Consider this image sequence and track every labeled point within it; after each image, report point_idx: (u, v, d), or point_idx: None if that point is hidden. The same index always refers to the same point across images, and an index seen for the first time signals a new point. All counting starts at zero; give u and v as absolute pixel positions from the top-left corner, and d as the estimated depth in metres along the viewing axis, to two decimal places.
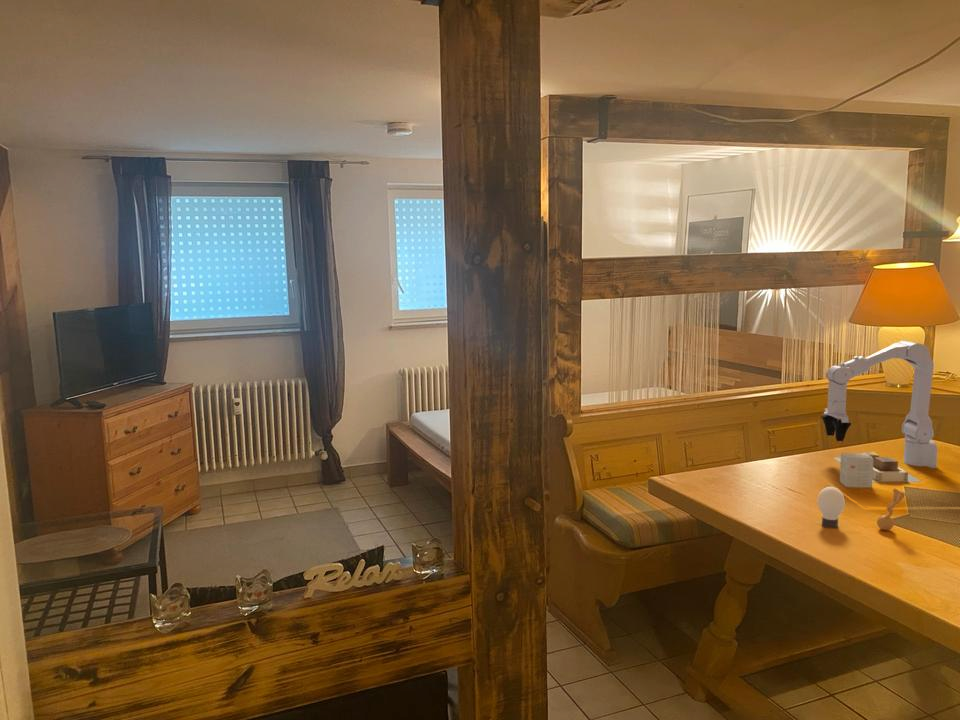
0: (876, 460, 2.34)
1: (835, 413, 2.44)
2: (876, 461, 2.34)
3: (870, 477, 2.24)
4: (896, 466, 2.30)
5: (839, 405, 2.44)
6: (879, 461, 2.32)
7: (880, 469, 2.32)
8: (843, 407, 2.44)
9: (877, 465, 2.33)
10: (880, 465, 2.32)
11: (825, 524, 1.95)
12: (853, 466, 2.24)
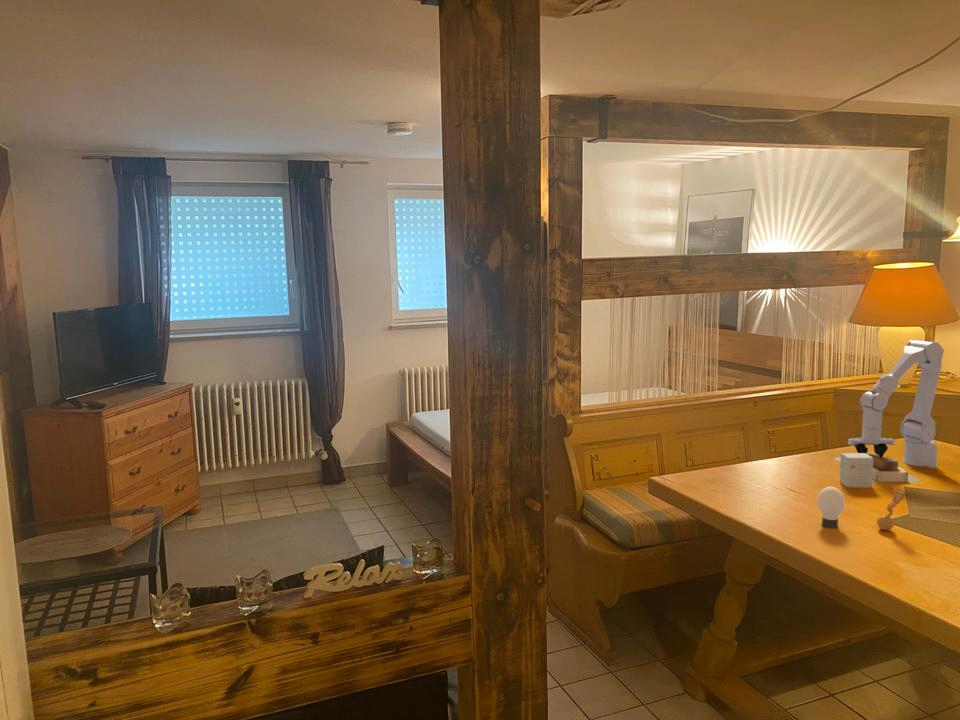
0: (876, 460, 2.34)
1: None
2: (876, 461, 2.34)
3: (870, 477, 2.24)
4: (896, 466, 2.30)
5: (863, 430, 2.43)
6: (879, 461, 2.32)
7: (880, 469, 2.32)
8: (866, 433, 2.41)
9: (877, 465, 2.33)
10: (880, 465, 2.32)
11: (825, 524, 1.95)
12: (853, 466, 2.24)
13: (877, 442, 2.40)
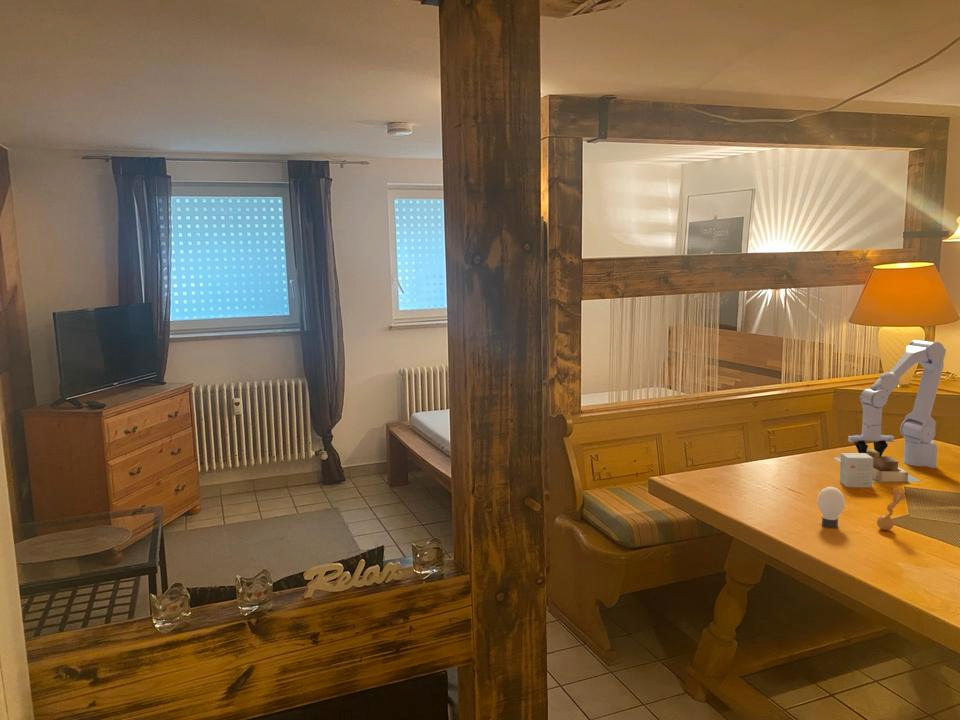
0: (876, 459, 2.34)
1: None
2: (876, 460, 2.34)
3: (870, 477, 2.24)
4: (896, 466, 2.30)
5: (862, 427, 2.43)
6: (879, 461, 2.32)
7: (880, 469, 2.32)
8: (866, 430, 2.41)
9: (877, 465, 2.34)
10: (880, 464, 2.32)
11: (825, 524, 1.95)
12: (853, 466, 2.24)
13: (877, 439, 2.40)
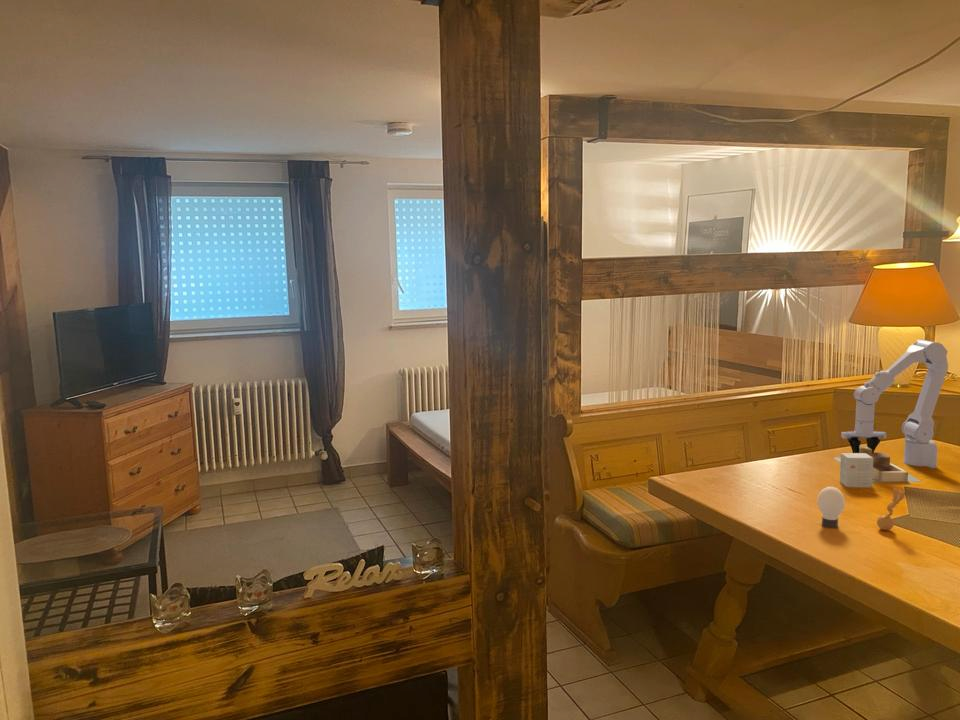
0: (869, 455, 2.39)
1: (854, 431, 2.49)
2: None
3: (870, 477, 2.24)
4: (888, 462, 2.35)
5: (855, 424, 2.48)
6: None
7: None
8: (858, 427, 2.46)
9: None
10: None
11: (825, 524, 1.95)
12: (853, 466, 2.24)
13: (869, 435, 2.45)
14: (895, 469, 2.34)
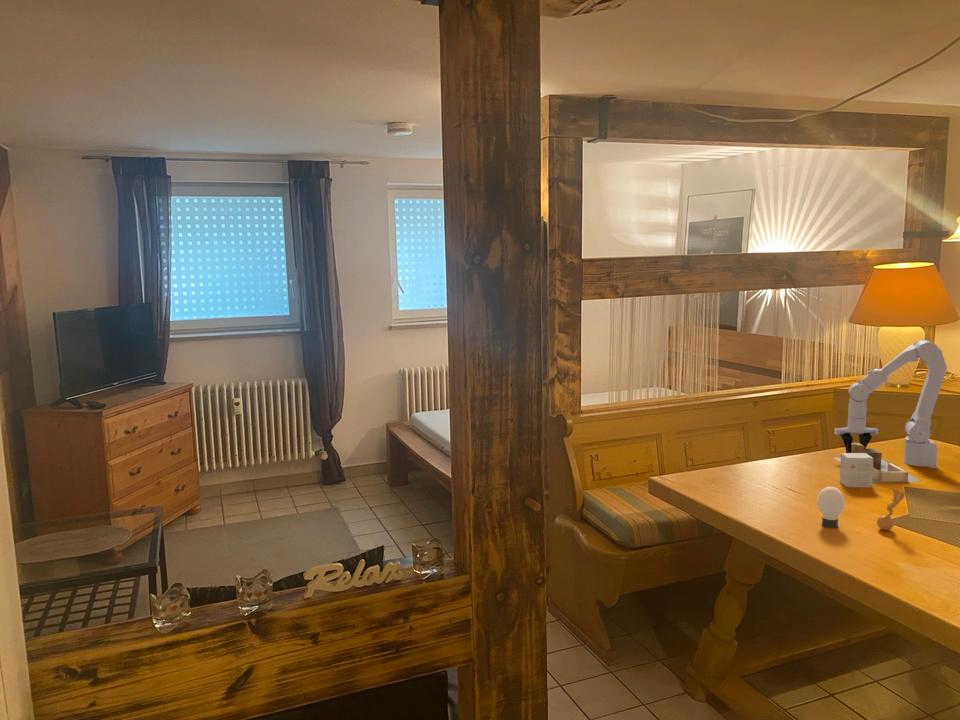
0: (861, 451, 2.45)
1: (847, 427, 2.55)
2: (861, 452, 2.45)
3: (870, 477, 2.24)
4: (880, 457, 2.41)
5: (848, 420, 2.53)
6: (864, 452, 2.43)
7: None
8: (851, 423, 2.52)
9: None
10: None
11: (825, 524, 1.95)
12: (853, 466, 2.24)
13: (862, 431, 2.50)
14: (895, 469, 2.34)
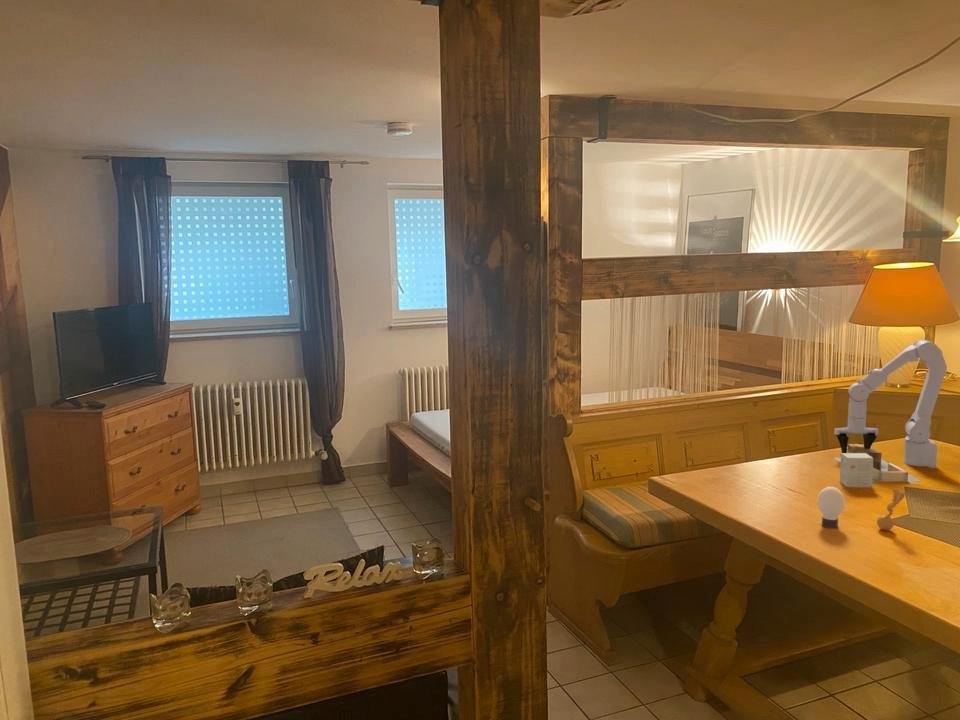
0: (861, 451, 2.45)
1: (847, 427, 2.55)
2: (861, 452, 2.45)
3: (870, 477, 2.24)
4: (880, 457, 2.41)
5: (848, 420, 2.53)
6: (863, 452, 2.43)
7: None
8: (851, 423, 2.52)
9: None
10: None
11: (825, 524, 1.95)
12: (853, 466, 2.24)
13: (862, 431, 2.50)
14: (895, 469, 2.34)
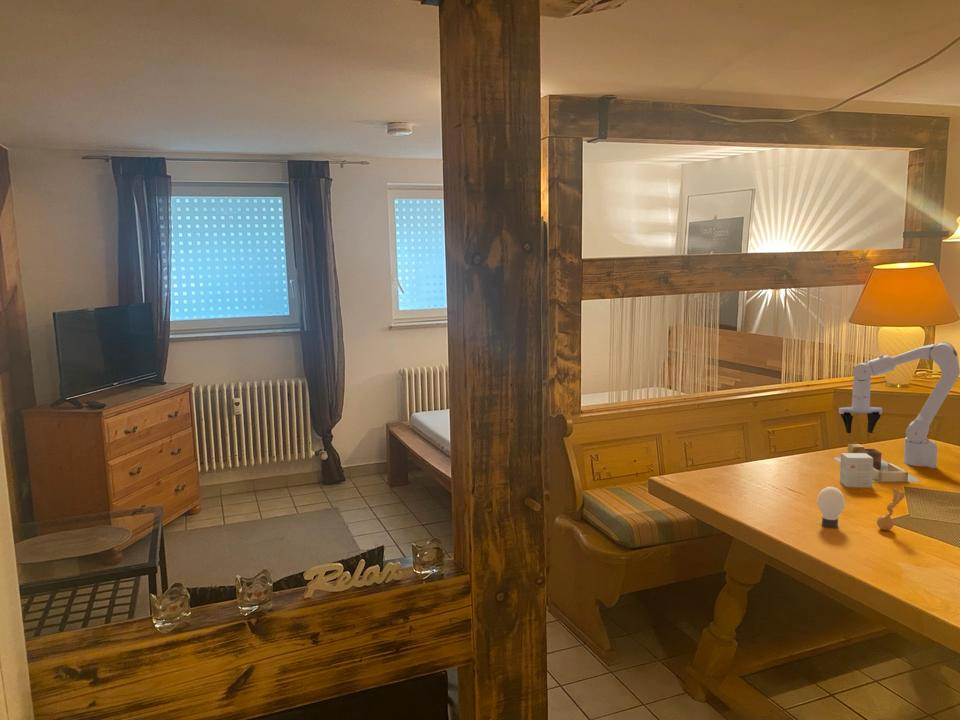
0: (861, 451, 2.45)
1: None
2: (861, 452, 2.45)
3: (870, 477, 2.24)
4: (880, 457, 2.41)
5: (852, 399, 2.56)
6: (863, 452, 2.43)
7: None
8: (855, 402, 2.55)
9: None
10: None
11: (825, 524, 1.95)
12: (853, 466, 2.24)
13: (866, 410, 2.53)
14: (895, 469, 2.34)
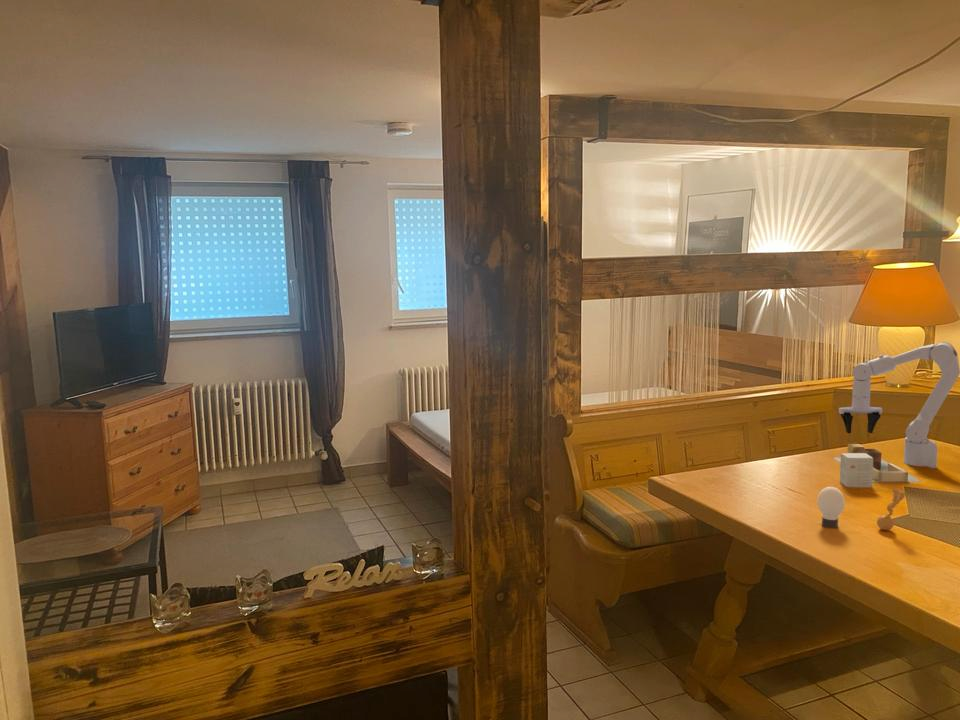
0: (861, 451, 2.45)
1: None
2: (861, 452, 2.45)
3: (870, 477, 2.24)
4: (880, 457, 2.41)
5: (852, 399, 2.56)
6: (863, 452, 2.43)
7: None
8: (855, 402, 2.55)
9: None
10: None
11: (825, 524, 1.95)
12: (853, 466, 2.24)
13: (866, 410, 2.53)
14: (895, 469, 2.34)
